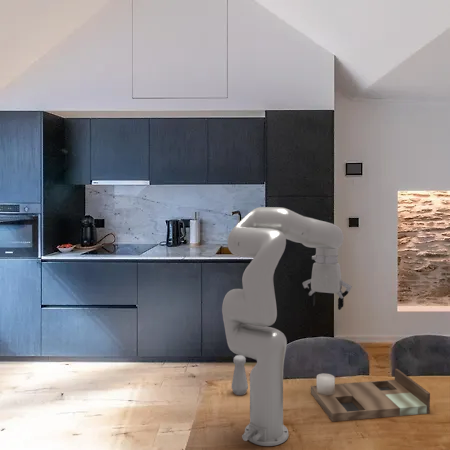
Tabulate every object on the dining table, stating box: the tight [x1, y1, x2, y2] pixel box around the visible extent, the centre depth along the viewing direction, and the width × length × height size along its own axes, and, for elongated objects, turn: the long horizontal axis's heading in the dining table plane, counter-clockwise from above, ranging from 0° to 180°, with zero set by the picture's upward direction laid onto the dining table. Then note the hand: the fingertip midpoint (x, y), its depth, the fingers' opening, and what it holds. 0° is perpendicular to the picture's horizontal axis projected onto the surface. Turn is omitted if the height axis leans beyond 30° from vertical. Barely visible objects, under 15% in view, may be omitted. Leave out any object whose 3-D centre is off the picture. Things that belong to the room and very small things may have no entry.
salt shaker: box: [231, 354, 249, 396], centre depth 160 cm, size 6×6×13 cm
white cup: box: [316, 372, 336, 395], centre depth 155 cm, size 6×6×5 cm
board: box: [310, 368, 431, 422], centre depth 152 cm, size 32×20×6 cm, turn 98°
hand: (326, 307), depth 164 cm, fingers open, 9 cm apart
